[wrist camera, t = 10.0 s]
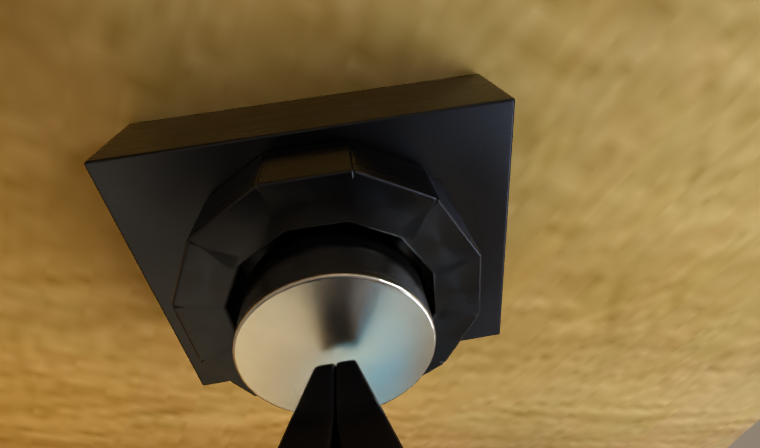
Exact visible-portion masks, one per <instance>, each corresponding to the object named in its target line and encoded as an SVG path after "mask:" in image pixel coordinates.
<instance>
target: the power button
mask: <svg viewBox="0 0 760 448" xmlns="http://www.w3.org/2000/svg"><path fill="white" fill-rule="evenodd" d="M435 346H436V330H435V325H434V322H433V319H432V316H431V312H430V309H429V306H428V303H427V300H426V297H425V294H424V290H423V287H422V284H421V281H420V278H419V275H418V272H417V270H416V268H415V266H414V264H413V263H412V261H411V260H410V259H409V258H408V256H407V255H406V254H405V253H404V252H403V251H402V250H400V249H399V248H398V247H397V246H395V245H394V244H392V243H391V242H389V241H388V240H386V239H384V238H382V237H380V236H377V235H374V234H372V233H369V232H365V231H361V230H356V229H348V228H327V229H318V230H313V231H309V232H305V233H302V234H299V235H296V236H294V237H291V238H289V239H287V240H285V241H283V242H282V243H280V244H278V245H277V246H275V247H274V248H272V249H271V250H270V251H269V252H268V253H266V254H265V255H264V256H263V257H262V258H261V259H260V260H259V262H258V263H257V264H256V265H255V267H254V268H253V270H252V271H251V273H250V275H249V278H248V280H247V283H246V287H245V291H244V295H243V299H242V304H241V308H240V312H239V317H238V321H237V325H236V330H235V334H234V338H233V346H232V354H233V361H234V364H235V367H236V370H237V372H238V374H239V376H240V377H241V379H242V381H243V382H244V383H245V384H246V386H247V387H248V388H249V389H250V390H251V391H252V392H254V393H255V394H256V395H257V396H259V397H260V398H262V399H263V400H265V401H267V402H268V403H270V404H272V405H274V406H277V407H279V408H282V409H285V410H288V411H292V412H294V411H295V409H296V407H297V405H298V402H299V400H300V398H301V396H302V394H303V391H304V389H305V387H306V385H307V383H308V380H309V378H310V376H311V374H312V372H313V370H314V368H315V367H316V366H319V365H325V364H331V363H333V364H335V365H336V364H337V363H338V362H342V361H348V360H355V361H356V362H357V363H358V365H359V367H360V369H361V371H362V372H363V374H364V376H365V378H366V380H367V382H368V384H369V385H370V387H371V389H372V391H373V393H374V395H375V397H376V398H377V400H378V402H379V404H380V405H382V404H385V403H387V402H389V401H391V400H393V399H395V398H396V397H398V396H399V395H401V394H403V393H404V392H405V391H407V390H408V389H409V388H410V387H412V386H413V385H414V384H415V383H416V382H417V381H418V380H419V379H420V378H421V376H422V375H423V374H424V373H425V371H426V370H427V368H428V366H429V364H430V362H431V360H432V358H433V355H434V351H435Z"/></svg>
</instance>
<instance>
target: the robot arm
mask: <svg viewBox="0 0 760 448" xmlns="http://www.w3.org/2000/svg"><path fill="white" fill-rule="evenodd" d="M278 448H403V446H402V445H401V443H400V441H399V439H398V437H397V435H396V434H395V432H394V430H393V428H392V426H391V424H390V422H389V421H388V419H387V417H386V415H385V413H384V411H383V409H382V408H381V406H380V404H379V402H378V400H377V398H376V397H375V395H374V393H373V391H372V389H371V387H370V385H369V384H368V382H367V380H366V378H365V376H364V374H363V372H362V371H361V369H360V367H359V365H358V363H357V362H356V361H355V360H348V361H342V362H338V363H337V364H336V365H335V364H333V363H331V364H325V365H319V366H316V367H315V368H314V370H313V372H312V374H311V376H310V378H309V380H308V383H307V385H306V387H305V389H304V391H303V394H302V396H301V398H300V400H299V402H298V405H297V407H296V409H295V411H294V413H293V415H292V418H291V420H290V422H289V424H288V426H287V429H286V431H285V433H284V435H283V437H282V440H281V442H280V444H279V446H278Z"/></svg>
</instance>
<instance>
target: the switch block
mask: <svg viewBox="0 0 760 448" xmlns="http://www.w3.org/2000/svg"><path fill="white" fill-rule="evenodd" d="M514 107H515V99H514V98H513V97H511V96H510V95H508V94H507V93H506V92H504V91H503V90H501V89H500V88H498V87H497V86H495V85H494V84H493V83H491V82H490V81H488V80H487V79H485V78H484V77H482V76H481V75H480V74H472V75H465V76H459V77H452V78H445V79H438V80H431V81H424V82H417V83H410V84H403V85H396V86H389V87H383V88H376V89H369V90H362V91H355V92H348V93H341V94H334V95H327V96H320V97H313V98H307V99H300V100H293V101H286V102H279V103H272V104H265V105H258V106H251V107H244V108H237V109H230V110H224V111H217V112H210V113H203V114H196V115H189V116H182V117H175V118H168V119H161V120H154V121H148V122H141V123H134V124H129V125H128V126H127V127H125V128H124V129H123V130H122V131H121V132H119V133H118V134H117V135H116V136H115V137H114V138H112V139H111V140H110V141H109V142H108V143H106V144H105V145H104V146H103V147H102V148H101V149H99V150H98V151H97V152H96V153H95V154H93V155H92V156H91V157H90V158H89V159H87V160H86V161H85V162H84V165H85V167H86V169H87V171H88V173H89V174H90V176H91V178H92V180H93V182H94V184H95V186H96V187H97V189H98V191H99V193H100V195H101V197H102V199H103V200H104V202H105V204H106V206H107V208H108V210H109V212H110V213H111V215H112V217H113V219H114V221H115V223H116V225H117V226H118V228H119V230H120V232H121V234H122V236H123V238H124V239H125V241H126V243H127V245H128V247H129V249H130V251H131V252H132V254H133V256H134V258H135V260H136V262H137V264H138V265H139V267H140V269H141V271H142V273H143V275H144V277H145V278H146V280H147V282H148V284H149V286H150V288H151V290H152V291H153V293H154V295H155V297H156V299H157V301H158V303H159V304H160V306H161V308H162V310H163V312H164V314H165V316H166V317H167V319H168V321H169V323H170V325H171V327H172V329H173V330H174V332H175V334H176V336H177V338H178V340H179V342H180V343H181V345H182V347H183V349H184V351H185V353H186V355H187V356H188V358H189V360H190V362H191V364H192V366H193V368H194V369H195V371H196V373H197V375H198V377H199V379H200V381H201V382H202V384H203V385H209V384H215V383H221V382H226V381H231V382H233V383H234V384H236V385H238V386H239V387H241V388H243V389H244V390H246V391H248V392H249V393H251V394H253V395H254V396H257V395H256V394H255V393H254V392H252V391H251V390H250V389H249V388H248V387H247V386H246V384H245V383H244V382H243V381H242V379H241V377H240V376H239V374H238V372H237V370H236V367H235V364H234V361H233V354H232V346H233V338H234V334H235V330H236V325H237V321H238V317H239V312H240V308H241V304H242V299H243V295H244V291H245V287H246V283H247V280H248V278H249V275H250V273H251V271H252V270H253V268H254V267H255V265H256V264H257V263H258V262H259V260H260V259H261V258H262V257H263V256H264V255H265V254H266V253H268V252H269V251H270V250H271V249H272V248H274V247H275V246H277V245H278V244H280V243H282V242H283V241H285V240H287V239H289V238H291V237H294V236H296V235H299V234H302V233H305V232H309V231H313V230H318V229H327V228H348V229H356V230H361V231H365V232H369V233H372V234H374V235H377V236H380V237H382V238H384V239H386V240H388V241H389V242H391V243H392V244H394V245H395V246H397V247H398V248H399V249H400V250H402V251H403V252H404V253H405V254H406V255H407V256H408V258H409V259H410V260H411V261H412V263H413V264H414V266H415V268H416V270H417V272H418V275H419V278H420V281H421V284H422V287H423V290H424V294H425V297H426V300H427V303H428V306H429V309H430V312H431V316H432V319H433V322H434V325H435V330H436V346H435V351H434V355H433V358H432V360H431V362H430V364H429V366H428V368H427V370H426V371H425V373H424V374H426V373H428V372H430V371H431V370H433V369H435V368H437V367H438V366H440V365H442V364H443V362H445V361H446V360H447V359H448V357H449V356H450V355H451V353H452V352H453V350H454V349H455V348H456V346H457V345H458V343H459V342H460V341H462V340H468V339H474V338H480V337H485V336H491V335H497V334H499V333H500V320H501V305H502V290H503V274H504V259H505V244H506V229H507V214H508V199H509V183H510V168H511V153H512V138H513V123H514ZM424 374H423V375H424ZM423 375H422V376H423Z"/></svg>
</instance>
